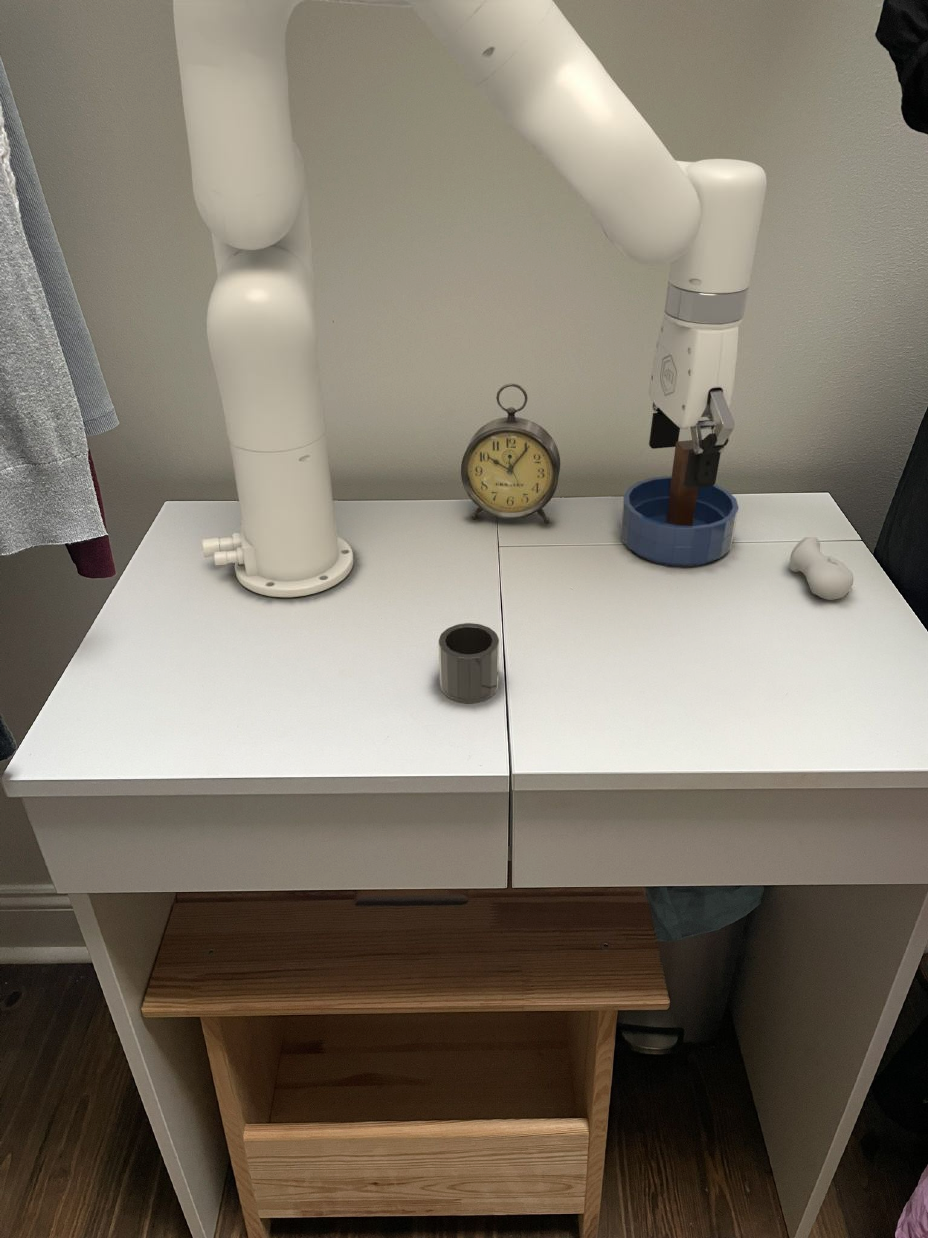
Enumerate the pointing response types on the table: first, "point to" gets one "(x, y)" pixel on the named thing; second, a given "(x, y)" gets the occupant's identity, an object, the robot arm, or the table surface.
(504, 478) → the alarm clock
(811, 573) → the smooth white sculpture
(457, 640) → the crock
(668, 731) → the table surface
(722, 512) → the bowl
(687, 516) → the stick
